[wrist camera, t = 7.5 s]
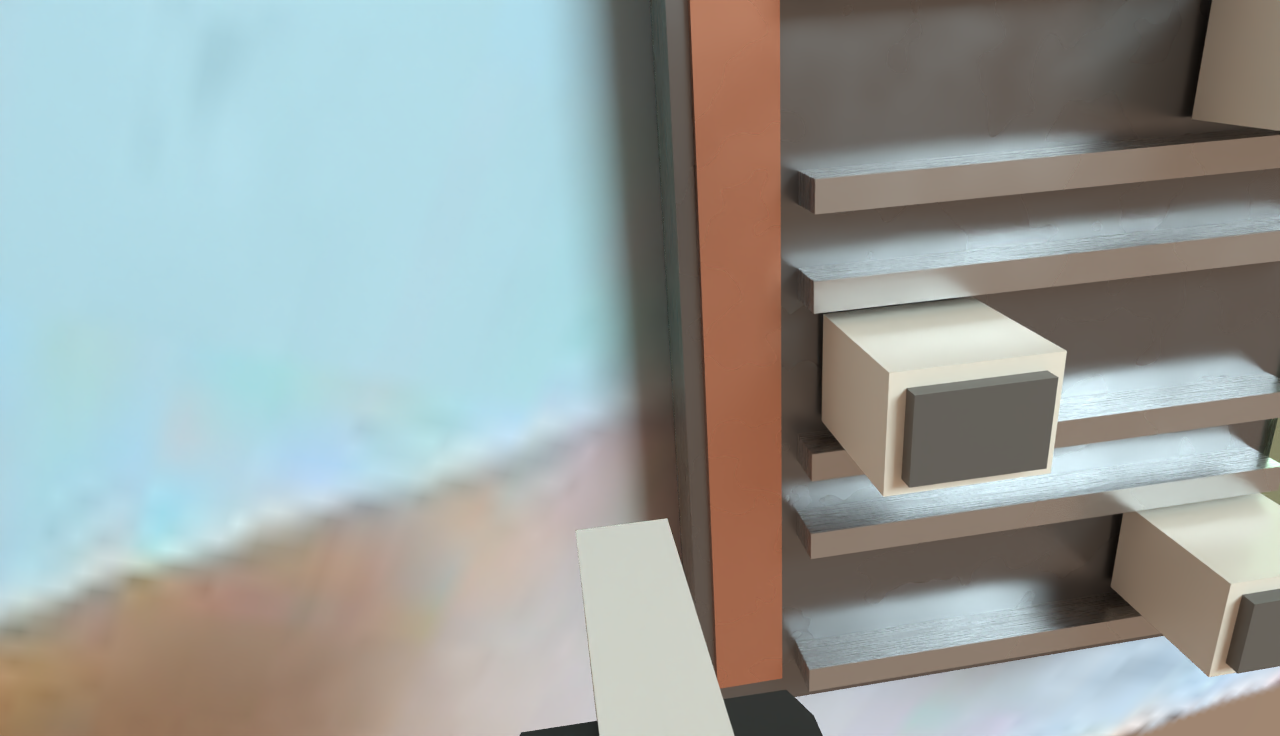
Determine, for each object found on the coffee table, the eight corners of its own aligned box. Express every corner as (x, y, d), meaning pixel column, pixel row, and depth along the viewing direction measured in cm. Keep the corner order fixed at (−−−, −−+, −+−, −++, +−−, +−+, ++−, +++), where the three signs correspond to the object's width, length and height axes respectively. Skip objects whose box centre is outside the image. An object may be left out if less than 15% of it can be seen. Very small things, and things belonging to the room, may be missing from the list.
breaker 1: (821, 421, 23) (890, 506, 19) (823, 314, 22) (897, 380, 17) (963, 402, 23) (1061, 481, 19) (972, 297, 22) (1078, 357, 18)
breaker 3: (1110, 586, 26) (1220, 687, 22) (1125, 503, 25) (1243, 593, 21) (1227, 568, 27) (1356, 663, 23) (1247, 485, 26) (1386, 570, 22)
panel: (688, 667, 28) (710, 742, 25) (645, -91, 20) (670, -112, 17) (1242, 578, 30) (1322, 638, 27) (1416, -135, 22) (1558, -160, 19)
